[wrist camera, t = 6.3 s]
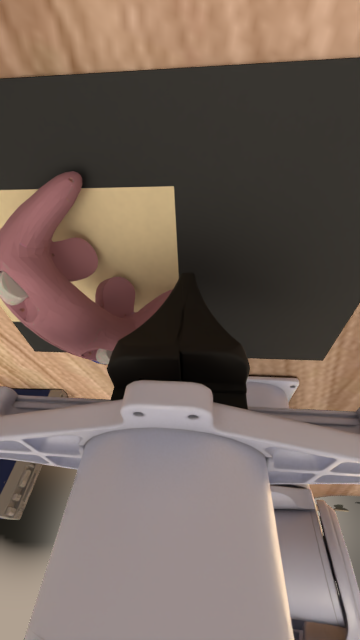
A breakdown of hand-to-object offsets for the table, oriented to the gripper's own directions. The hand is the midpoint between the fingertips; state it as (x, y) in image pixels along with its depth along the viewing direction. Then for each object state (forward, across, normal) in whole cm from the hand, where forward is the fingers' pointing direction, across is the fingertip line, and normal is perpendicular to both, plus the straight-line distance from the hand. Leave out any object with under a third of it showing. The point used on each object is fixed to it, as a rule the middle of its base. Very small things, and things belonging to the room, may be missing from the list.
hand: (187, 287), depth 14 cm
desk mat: (+2, +2, 0) cm, 2 cm away
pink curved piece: (+2, +5, -1) cm, 5 cm away
